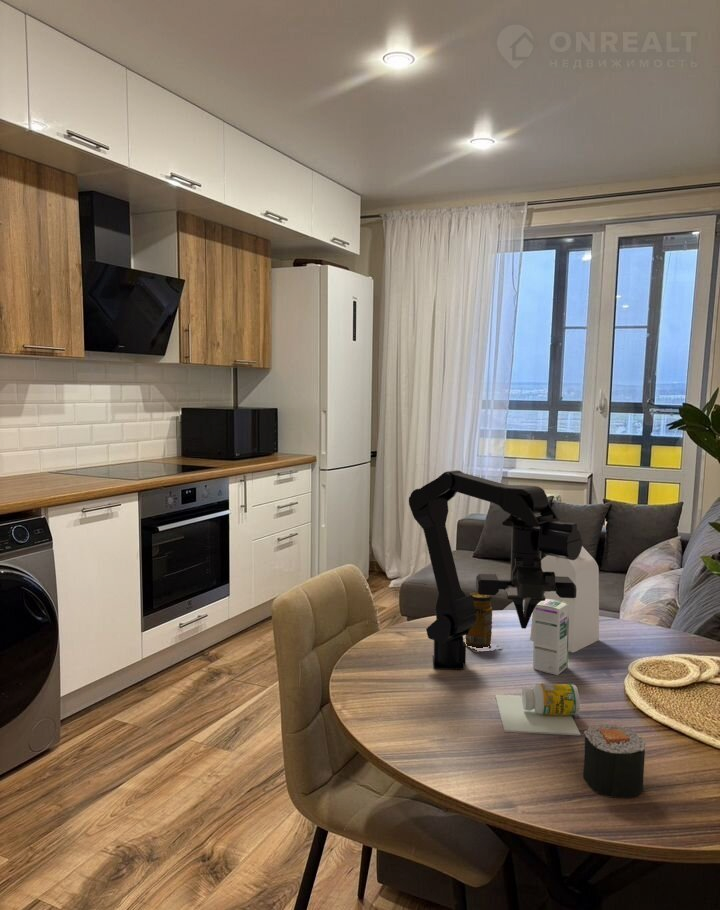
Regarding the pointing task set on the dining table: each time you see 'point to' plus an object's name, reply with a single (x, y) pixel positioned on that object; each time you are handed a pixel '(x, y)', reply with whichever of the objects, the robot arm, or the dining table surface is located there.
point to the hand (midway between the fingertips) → (523, 627)
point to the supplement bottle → (551, 699)
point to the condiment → (480, 623)
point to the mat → (532, 719)
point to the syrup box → (551, 636)
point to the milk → (577, 597)
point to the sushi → (614, 761)
